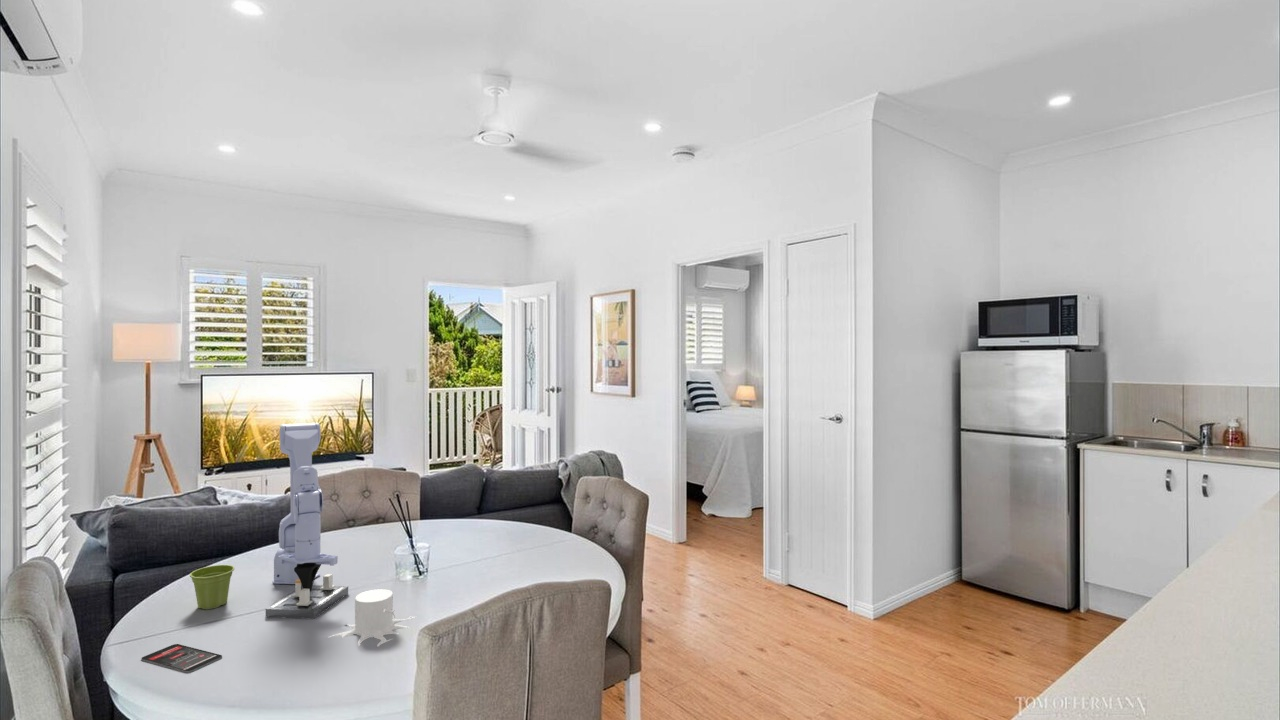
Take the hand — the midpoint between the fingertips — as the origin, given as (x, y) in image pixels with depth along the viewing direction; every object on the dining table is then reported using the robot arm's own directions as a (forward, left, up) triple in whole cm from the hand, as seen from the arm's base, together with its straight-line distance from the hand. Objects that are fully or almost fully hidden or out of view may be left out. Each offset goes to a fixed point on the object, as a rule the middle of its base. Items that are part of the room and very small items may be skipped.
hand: (307, 592), depth 161 cm
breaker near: (+2, -5, -1) cm, 6 cm away
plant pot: (-24, -2, -3) cm, 24 cm away
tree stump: (+23, -12, -4) cm, 26 cm away
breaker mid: (-2, 0, -1) cm, 2 cm away
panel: (0, 0, -3) cm, 3 cm away
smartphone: (-10, -29, -4) cm, 31 cm away
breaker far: (+2, +5, -1) cm, 6 cm away
